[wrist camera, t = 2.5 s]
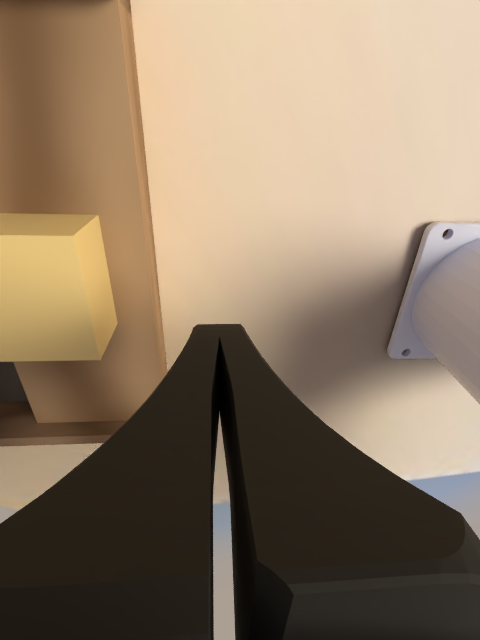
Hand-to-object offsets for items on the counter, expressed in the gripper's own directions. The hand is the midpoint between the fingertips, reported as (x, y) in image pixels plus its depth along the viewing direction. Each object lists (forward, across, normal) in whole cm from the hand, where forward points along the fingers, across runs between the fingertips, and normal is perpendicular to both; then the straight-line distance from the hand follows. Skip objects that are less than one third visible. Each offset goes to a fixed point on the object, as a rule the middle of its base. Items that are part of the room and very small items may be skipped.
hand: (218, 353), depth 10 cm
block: (+6, +7, 0) cm, 9 cm away
